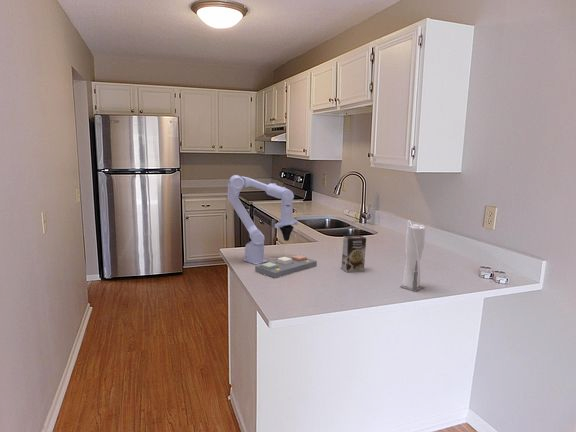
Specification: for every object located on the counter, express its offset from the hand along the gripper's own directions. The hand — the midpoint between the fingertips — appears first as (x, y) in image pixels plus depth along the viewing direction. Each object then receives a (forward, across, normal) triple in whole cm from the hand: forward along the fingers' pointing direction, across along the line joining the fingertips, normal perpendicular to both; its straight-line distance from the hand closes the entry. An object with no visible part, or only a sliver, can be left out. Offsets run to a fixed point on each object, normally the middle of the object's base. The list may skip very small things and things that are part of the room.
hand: (286, 240), depth 200 cm
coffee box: (+11, +12, -32) cm, 36 cm away
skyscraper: (+11, +12, -62) cm, 64 cm away
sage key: (+10, -19, -8) cm, 23 cm away
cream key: (+9, -9, -8) cm, 15 cm away
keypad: (+10, -10, -10) cm, 17 cm away
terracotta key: (+10, +1, -8) cm, 13 cm away
